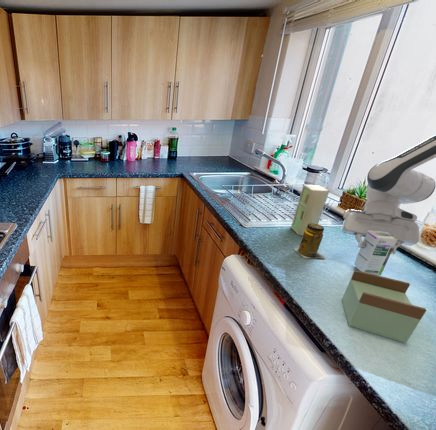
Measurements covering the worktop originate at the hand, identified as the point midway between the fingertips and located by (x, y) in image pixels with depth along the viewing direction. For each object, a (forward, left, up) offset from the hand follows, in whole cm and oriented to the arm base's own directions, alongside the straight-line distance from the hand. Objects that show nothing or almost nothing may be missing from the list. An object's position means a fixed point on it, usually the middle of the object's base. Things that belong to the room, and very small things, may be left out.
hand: (376, 250), depth 97 cm
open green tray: (+4, +28, -9) cm, 30 cm away
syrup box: (0, -1, -9) cm, 9 cm away
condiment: (+17, -4, -9) cm, 20 cm away
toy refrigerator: (+19, -24, -9) cm, 32 cm away
